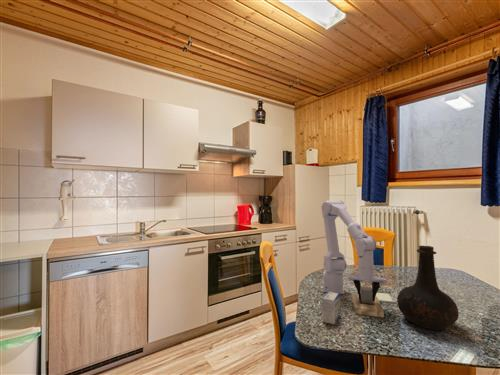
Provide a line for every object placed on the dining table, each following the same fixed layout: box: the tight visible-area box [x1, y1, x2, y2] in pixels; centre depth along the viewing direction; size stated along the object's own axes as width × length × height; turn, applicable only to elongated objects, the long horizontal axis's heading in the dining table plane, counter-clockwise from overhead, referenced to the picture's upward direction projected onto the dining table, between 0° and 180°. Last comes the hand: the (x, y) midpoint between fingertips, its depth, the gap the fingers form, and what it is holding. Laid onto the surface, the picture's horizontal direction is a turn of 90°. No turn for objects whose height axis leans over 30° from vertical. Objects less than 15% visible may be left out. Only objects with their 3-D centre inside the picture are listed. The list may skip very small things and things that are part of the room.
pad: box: [376, 292, 394, 304], centre depth 112 cm, size 9×9×1 cm
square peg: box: [361, 285, 373, 305], centre depth 102 cm, size 4×4×8 cm
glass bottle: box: [396, 245, 460, 331], centre depth 90 cm, size 18×18×28 cm
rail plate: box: [351, 293, 385, 318], centre depth 102 cm, size 10×14×2 cm
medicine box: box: [321, 292, 340, 325], centre depth 93 cm, size 8×4×9 cm, turn 148°
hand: (366, 299), depth 102 cm, fingers open, 4 cm apart
